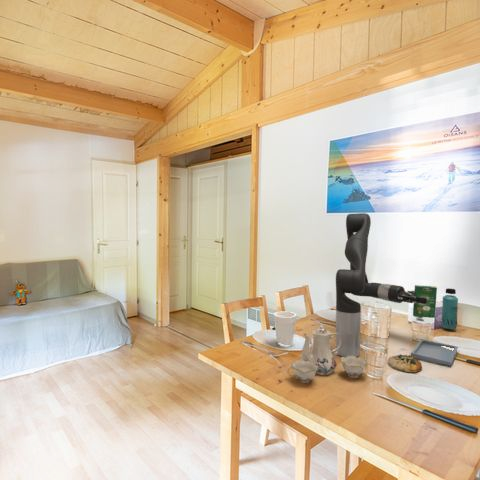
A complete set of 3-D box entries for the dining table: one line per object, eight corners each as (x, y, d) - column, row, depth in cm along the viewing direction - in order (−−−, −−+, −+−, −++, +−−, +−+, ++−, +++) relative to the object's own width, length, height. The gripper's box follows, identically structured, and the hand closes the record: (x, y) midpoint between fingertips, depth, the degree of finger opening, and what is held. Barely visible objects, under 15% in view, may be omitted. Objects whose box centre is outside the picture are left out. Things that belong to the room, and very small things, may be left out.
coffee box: (432, 316, 139) (434, 285, 138) (435, 318, 136) (437, 286, 135) (412, 315, 140) (413, 284, 139) (415, 317, 137) (416, 286, 137)
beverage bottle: (438, 328, 160) (439, 288, 158) (446, 327, 162) (448, 286, 161) (451, 333, 154) (453, 290, 153) (460, 331, 157) (461, 289, 155)
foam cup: (289, 350, 133) (289, 319, 132) (269, 345, 139) (269, 315, 138) (299, 343, 141) (300, 313, 140) (281, 339, 146) (281, 310, 146)
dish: (450, 367, 117) (450, 362, 117) (410, 358, 126) (410, 353, 126) (457, 351, 132) (457, 346, 132) (421, 343, 140) (421, 339, 140)
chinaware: (298, 395, 102) (301, 345, 99) (276, 367, 118) (279, 323, 115) (374, 382, 110) (378, 336, 107) (344, 358, 126) (348, 316, 123)
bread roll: (417, 361, 123) (418, 349, 122) (425, 379, 112) (425, 365, 111) (385, 359, 126) (385, 347, 125) (390, 376, 115) (390, 363, 114)
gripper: (383, 286, 144) (423, 293, 131) (398, 282, 153) (437, 288, 140) (382, 303, 145) (422, 312, 132) (398, 298, 154) (437, 306, 141)
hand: (430, 300), depth 136 cm, fingers closed on coffee box, 7 cm apart
